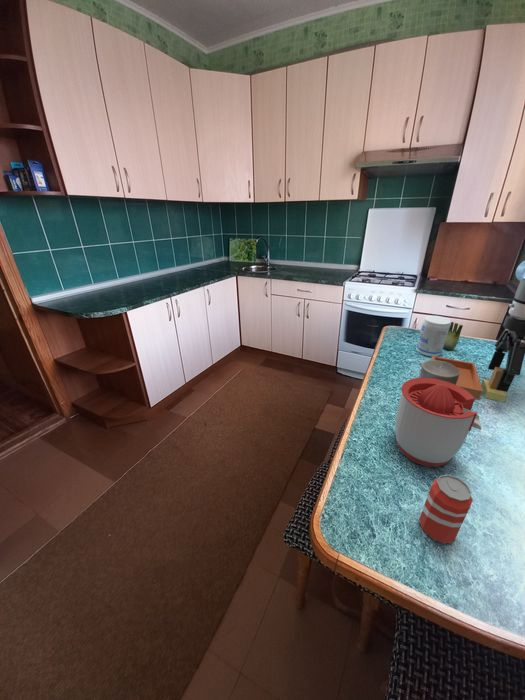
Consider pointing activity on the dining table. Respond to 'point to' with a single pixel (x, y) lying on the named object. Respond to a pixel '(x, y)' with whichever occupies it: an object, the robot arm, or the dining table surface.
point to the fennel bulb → (452, 336)
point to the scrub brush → (494, 386)
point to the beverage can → (445, 508)
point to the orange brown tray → (466, 376)
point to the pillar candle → (439, 371)
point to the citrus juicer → (433, 420)
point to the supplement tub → (433, 335)
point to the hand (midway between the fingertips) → (497, 379)
